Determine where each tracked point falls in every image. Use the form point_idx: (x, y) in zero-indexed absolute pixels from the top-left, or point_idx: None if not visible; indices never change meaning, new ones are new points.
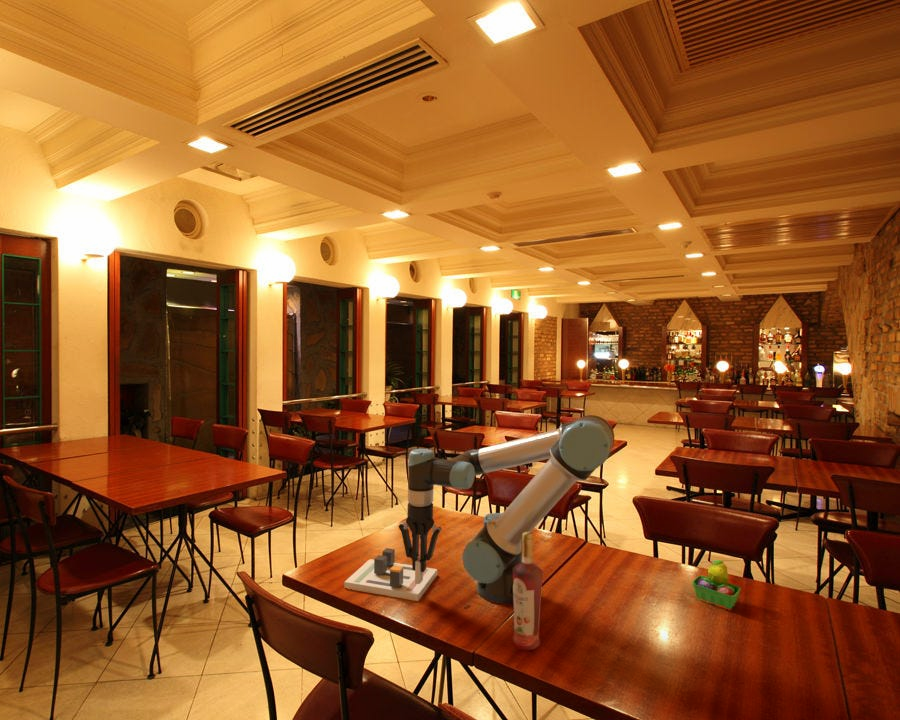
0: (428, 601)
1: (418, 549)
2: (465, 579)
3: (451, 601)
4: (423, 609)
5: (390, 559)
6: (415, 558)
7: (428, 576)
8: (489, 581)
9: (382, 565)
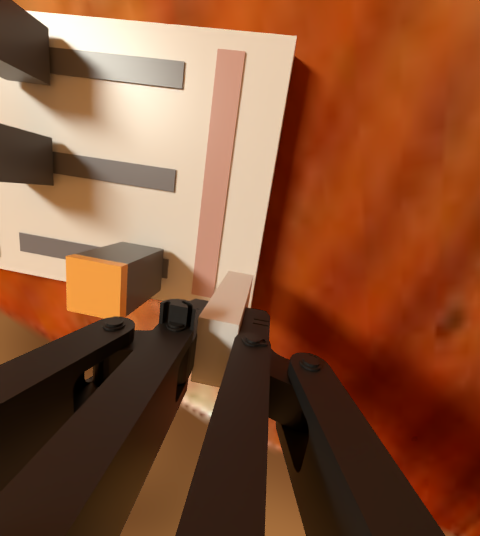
0: (289, 303)
1: (170, 372)
2: (456, 66)
3: (382, 293)
4: (280, 355)
5: (12, 66)
6: (183, 392)
7: (262, 144)
8: None
9: (10, 182)
